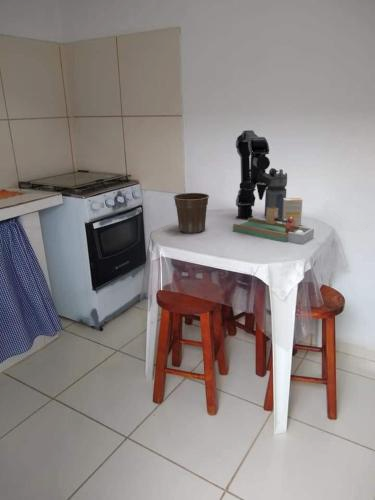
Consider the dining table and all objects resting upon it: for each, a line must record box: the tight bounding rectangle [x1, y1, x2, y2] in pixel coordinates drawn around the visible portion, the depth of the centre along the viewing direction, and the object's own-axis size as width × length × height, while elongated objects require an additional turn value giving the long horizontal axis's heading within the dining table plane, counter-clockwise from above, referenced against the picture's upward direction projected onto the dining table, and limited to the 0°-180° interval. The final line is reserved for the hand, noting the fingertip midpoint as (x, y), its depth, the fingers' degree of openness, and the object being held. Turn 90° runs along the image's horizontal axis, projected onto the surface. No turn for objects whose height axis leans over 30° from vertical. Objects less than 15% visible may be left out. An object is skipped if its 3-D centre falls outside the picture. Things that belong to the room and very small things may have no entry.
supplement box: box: [281, 197, 303, 227], centre depth 185 cm, size 8×5×13 cm, turn 84°
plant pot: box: [173, 192, 210, 234], centre depth 182 cm, size 16×16×16 cm
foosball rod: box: [265, 206, 296, 233], centre depth 171 cm, size 12×5×9 cm, turn 50°
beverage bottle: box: [264, 167, 288, 218], centre depth 198 cm, size 10×13×25 cm
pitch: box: [232, 217, 315, 245], centre depth 175 cm, size 33×14×4 cm, turn 50°
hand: (255, 201), depth 179 cm, fingers open, 9 cm apart
